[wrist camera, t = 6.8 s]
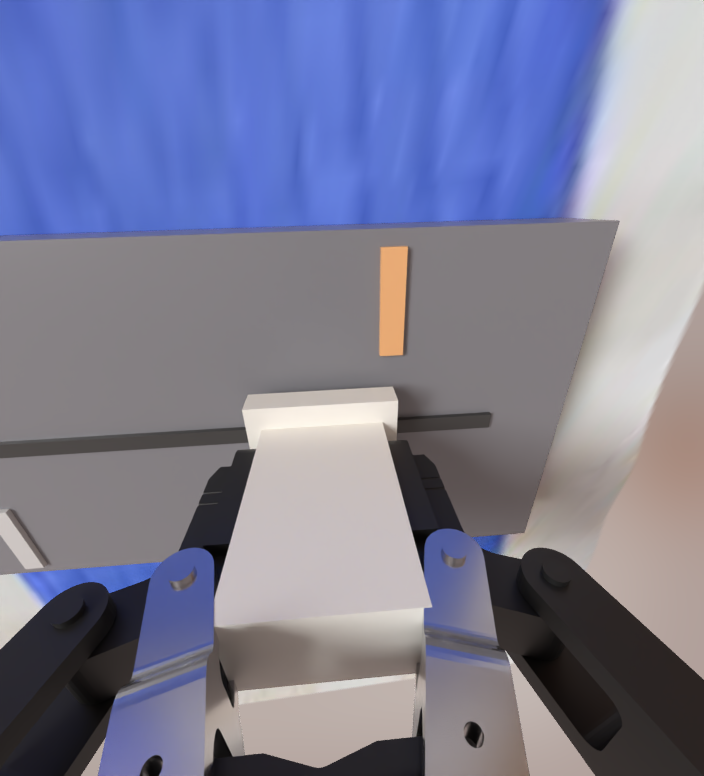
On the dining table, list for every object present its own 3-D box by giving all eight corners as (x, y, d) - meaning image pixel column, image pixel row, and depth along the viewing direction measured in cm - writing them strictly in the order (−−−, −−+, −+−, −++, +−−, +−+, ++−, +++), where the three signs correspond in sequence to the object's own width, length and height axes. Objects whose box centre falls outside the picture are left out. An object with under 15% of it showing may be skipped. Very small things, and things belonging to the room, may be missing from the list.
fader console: (-293, 244, 12) (-489, 257, 9) (560, 217, 13) (624, 221, 10) (-55, 529, 18) (-124, 588, 15) (497, 488, 20) (526, 536, 17)
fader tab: (248, 394, 12) (164, 601, 6) (392, 386, 12) (465, 577, 6) (265, 482, 14) (216, 710, 7) (389, 474, 14) (442, 687, 8)
